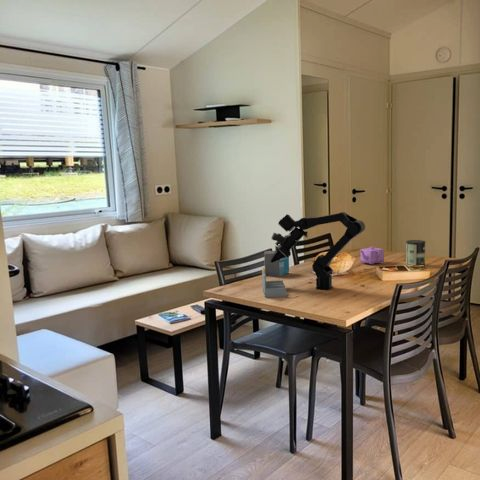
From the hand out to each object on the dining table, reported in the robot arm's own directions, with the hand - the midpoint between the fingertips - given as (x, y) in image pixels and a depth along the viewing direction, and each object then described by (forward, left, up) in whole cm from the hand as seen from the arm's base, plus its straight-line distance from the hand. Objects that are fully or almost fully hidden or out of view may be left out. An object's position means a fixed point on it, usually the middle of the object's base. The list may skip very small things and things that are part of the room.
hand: (271, 261), depth 252 cm
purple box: (-23, -75, -13) cm, 80 cm away
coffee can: (-48, -78, -13) cm, 93 cm away
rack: (-7, +10, -13) cm, 17 cm away
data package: (+11, -26, -13) cm, 31 cm away
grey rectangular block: (0, 0, -7) cm, 7 cm away
